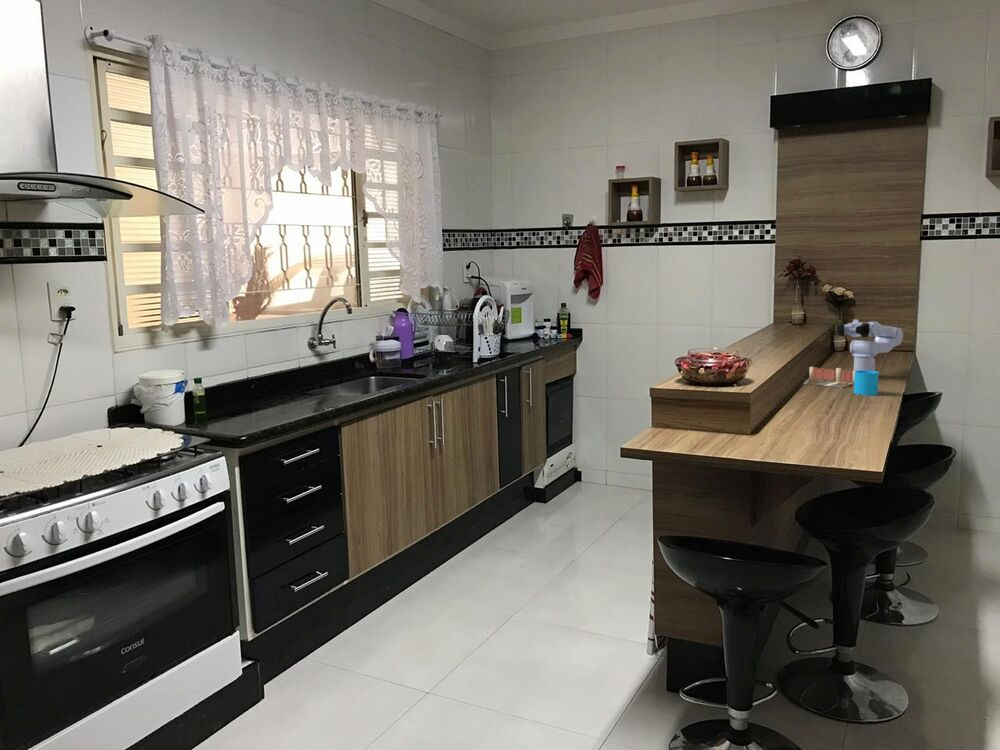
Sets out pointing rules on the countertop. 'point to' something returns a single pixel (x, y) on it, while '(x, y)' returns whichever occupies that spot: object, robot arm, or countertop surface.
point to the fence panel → (821, 374)
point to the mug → (866, 382)
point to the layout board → (828, 383)
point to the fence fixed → (845, 375)
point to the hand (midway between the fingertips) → (846, 329)
